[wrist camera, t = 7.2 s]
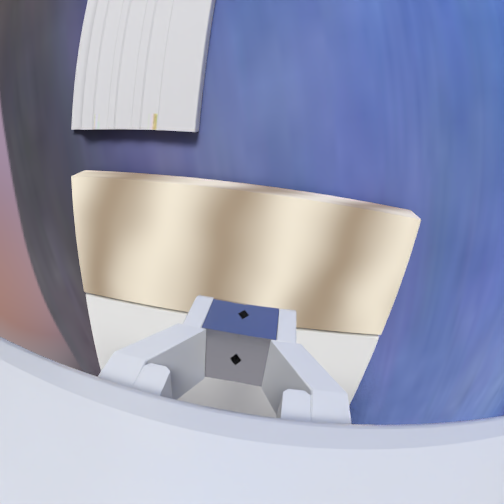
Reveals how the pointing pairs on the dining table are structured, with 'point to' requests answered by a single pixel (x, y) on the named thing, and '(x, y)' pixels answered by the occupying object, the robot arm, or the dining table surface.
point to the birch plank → (241, 247)
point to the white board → (216, 390)
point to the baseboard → (142, 64)
